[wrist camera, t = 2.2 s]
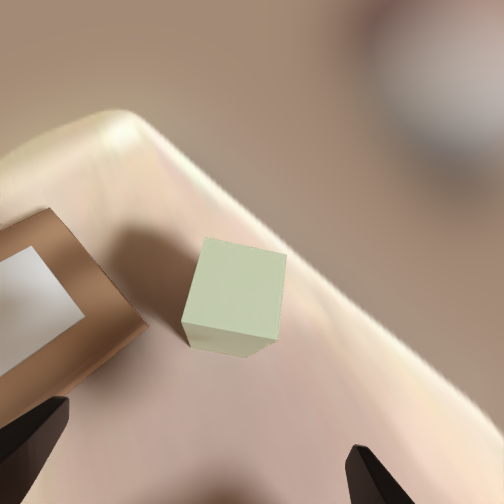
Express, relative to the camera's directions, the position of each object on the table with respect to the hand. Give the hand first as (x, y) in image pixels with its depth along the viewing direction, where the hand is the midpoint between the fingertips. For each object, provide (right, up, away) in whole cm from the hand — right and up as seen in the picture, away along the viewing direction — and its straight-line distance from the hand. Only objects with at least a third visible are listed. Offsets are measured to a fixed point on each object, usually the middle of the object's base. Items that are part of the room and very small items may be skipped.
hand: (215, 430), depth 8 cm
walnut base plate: (-15, 0, +11) cm, 19 cm away
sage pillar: (-1, -1, +13) cm, 14 cm away
